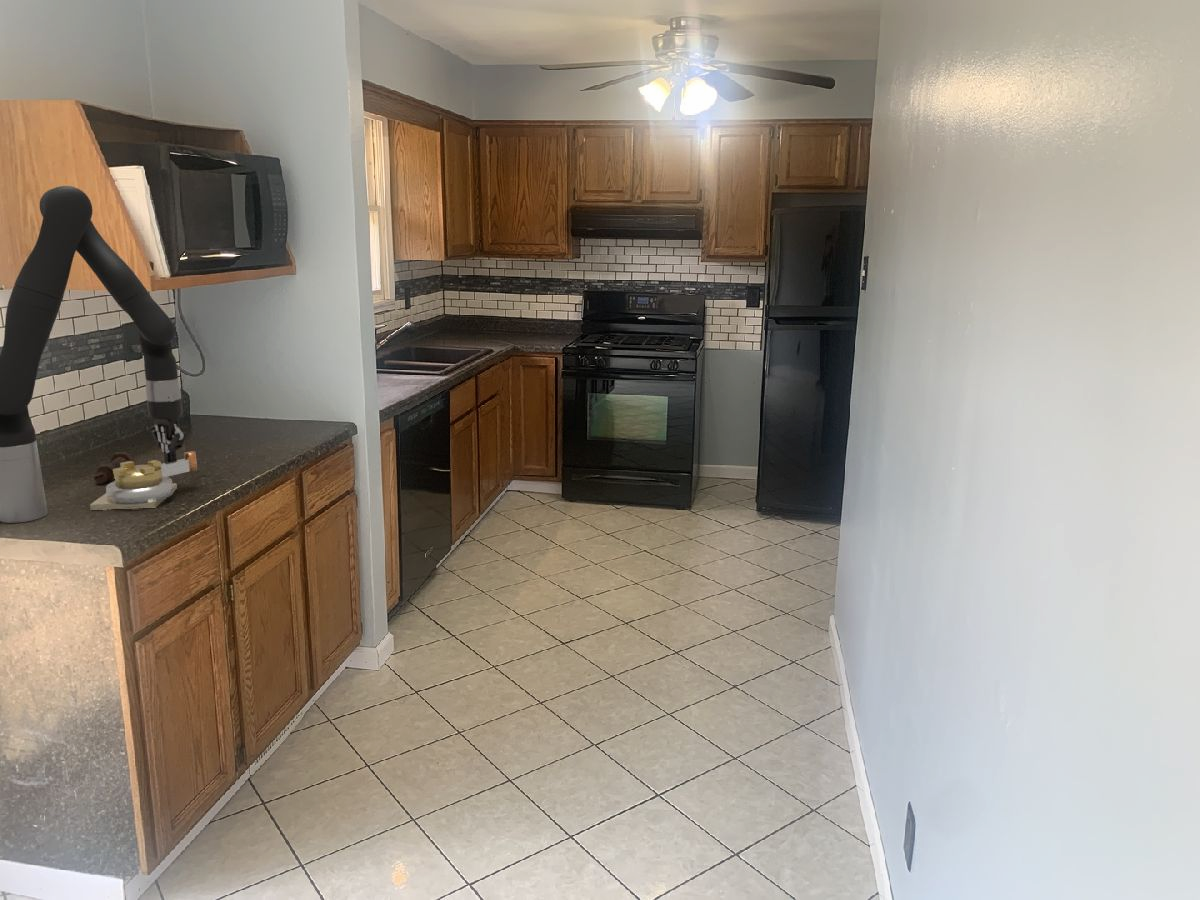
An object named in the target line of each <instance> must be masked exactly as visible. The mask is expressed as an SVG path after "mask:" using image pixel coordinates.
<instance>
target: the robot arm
mask: <svg viewBox="0 0 1200 900" xmlns="http://www.w3.org/2000/svg"><path fill="white" fill-rule="evenodd" d="M93 210H94V209H93V204H92V202H91V199H90V198H89V196H88V195H87V194H86V193H85V192H84V191H83V190H81V189H80V188H77V187H75V186H71V185H62V186H61V185H60V186H57V187H54V188H51V189H48V190H47V191H45V192H44V193H43V194H42V196H41V197H40V200H39V211H40V214H41V217H42V221H41V226H40V230H39V233H38V237H37V240H36V243H35V245H34V247H33V249H32V250H31V252H30V254H28V257H27V258H26V260H25V262H24V264H23V265H22V266H21V269H20V271H19V273H18V276H17V277H16V280H15V282H14V285H13V287H12V290H11V293H10V296H9V298H8V303H7V307H6V313H5V321H4V322H5V323H4V337H3V343H2V348H1V352H0V522H1V523H5V524H17V523H26V522H31V521H35V520H38V519H41V518H43V517H45V516H47V515H48V507H47V506H48V505H47V500H46V494H45V488H44V481H43V475H42V468H41V461H40V455H39V449H38V443H37V436H36V430H35V427H34V425H33V423H32V420H31V417H30V413H29V409H28V408H29V407H28V406H29V405H30V403H31V401H32V398H33V396H34V390H35V386H36V382H37V375H38V370H39V366H40V361H41V358H42V355H43V354H44V350H45V348H46V345H47V343H48V341H49V338H50V335H51V332H52V331H53V327H54V324H55V322H56V320H57V317H58V314H59V311H60V308H61V305H62V301H63V299H64V295H65V292H66V288H67V285H68V280H69V277H70V274H71V268H72V265H73V260H74V257H75V254H76V252H77V254H79V255H80V256H81V258H83V261H85V262H86V264H87V265H88V267H89V268H90V270H91V271H92V272H93V273H94V275H95V276H96V278H98V281H100V283H101V284H102V285H103V287H104V288H105V290H107V292H108V293H109V294H110V296H111V297H112V298H113V300H114V301H115V302H116V304H117V305H118V306H119V307H120V308H121V310H122V311H123V312H124V313H126V314H127V315H128V316H129V317H130V318H131V320H132V321H133V322H134V324H135V326H136V327H137V329H138V337H139V338H138V339H139V343H140V344H139V345H140V348H141V352H142V355H143V363H144V364H143V365H144V367H143V368H144V375H145V376H144V377H145V394H146V395H145V396H146V404H147V413H148V417H149V418H151V419H153V424H154V425H153V426H149V429H148V430H149V433H150V434H151V436H152V438H153V441H154V442H155V444H156V446H157V448H158V449H161V452H163V456H164V463H167V462H172V461H176V460H177V452H178V451H181V450H182V448H183V445H184V442H185V441H186V438H187V432H186V431H183V432H182V430H181V429H180V428H181V426H180V422H179V418H180V417H182V416H183V413H184V411H183V410H184V409H183V402H182V401H183V400H182V393H181V392H182V391H181V385H180V381H179V374H178V365H177V359H176V357H175V355H174V354H173V348H172V347H173V346H172V342H173V340H174V339H175V335H176V327H175V324H174V323H173V321H172V320H171V318H170V317H169V316H168V315H167V313H166V312H165V311H164V309H162V307H161V306H159V304H158V303H157V302H156V301H155V300H154V299H153V298H152V296H151V295H150V293H149V291H148V289H147V288H146V287H145V286H144V284H143V283H142V282H141V280H140V279H139V277H138V276H137V275H136V273H135V272H134V271H133V269H132V268H131V267H130V266H129V265H128V263H126V262H125V261H124V260H123V259H122V258H121V256H119V255H118V254H117V253H116V251H114V250H113V249H112V247H111V246H110V245H109V244H108V243H107V241H106V240H104V238H103V236H102V235H101V234H100V233H99V231H98V230H97V228H96V226H95V225H94V223H93V222H92V216H93Z"/></svg>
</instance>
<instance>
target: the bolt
mask: <svg viewBox="0 0 1200 900" xmlns="http://www.w3.org/2000/svg"><path fill="white" fill-rule="evenodd" d="M127 461H132V462H134V463H135V460H134V459H133V457H132V456H131V454H130V453H129V452H125V451H124V452H123V451H121V452H119V451H118V452H115V453H114V454H113V455H112V457H111V460H110V462H109V463H104V464H100V465H99V467H98V468H97V470H96V472H95V473H94V475H93V478H94V479H93V480H94V482H95V483H97V484H100V485H102V484H105V483H107V482H113V481H115V480H114V474H113V469H116V468H120V467H121V466H120V463H123V462H127ZM112 480H113V481H112Z"/></svg>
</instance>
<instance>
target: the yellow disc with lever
mask: <svg viewBox="0 0 1200 900" xmlns="http://www.w3.org/2000/svg"><path fill="white" fill-rule="evenodd" d="M196 453H197V452H196V451H193V450H191V451H186V452H185V451H184V452H183V456H184V458H181V459H176V461H172V462H167V463H165V462H163V463H161V461H160V460H157V459H153V460H148V461H147V464H138V465H137V464H136V465H135V461H134V462H132V461H127V462H123V463H120V466H121V467H120V468H116V469H113V474H114V479H115V480H114V481H115V486H116V487H119V488H142V487H148V486H152V485H156V484H158V483H160V482H162V481H163V479H162V478H164V477H172V476H176V475H179V474H183V473H188V472H194V471H197V470H198V462H197V455H196Z"/></svg>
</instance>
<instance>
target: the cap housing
mask: <svg viewBox="0 0 1200 900" xmlns="http://www.w3.org/2000/svg"><path fill="white" fill-rule="evenodd" d="M162 479H163V481H162V482H160V483H158V484H156V485H152V486H148V487H142V488H119V487H116V486H115V480H113V481H111V482H110V483H108V484H107V485H106V486H105V491H106V492H105V493H104V494H103V495H101V496H100V497H98V498H97V499H96V500H94V501H93V502H92V503H90V504H89V506H90V507H89V508H90V511H91V510H103V511H111V510H110V509H132V510H143V509H142V508H155V509H157V508H158V507H159V506H160V505H161V504H162V503H163V502H164V501H166V500H167V499H168V498H169V497H171V496H172V495H173V494H174V493H175V492H176V491H177V490H178V485H177V483H175V482H174V483H173V480H172V478H171V477H170V476H168V477H164V478H162ZM176 489H177V490H176ZM175 490H176V491H175ZM167 497H168V498H167ZM166 498H167V499H166ZM165 499H166V500H165ZM161 502H162V503H161ZM160 503H161V504H160ZM159 504H160V505H159ZM158 505H159V506H158ZM157 506H158V507H157ZM156 507H157V508H156ZM139 508H141V509H139ZM107 509H109V510H107Z"/></svg>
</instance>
